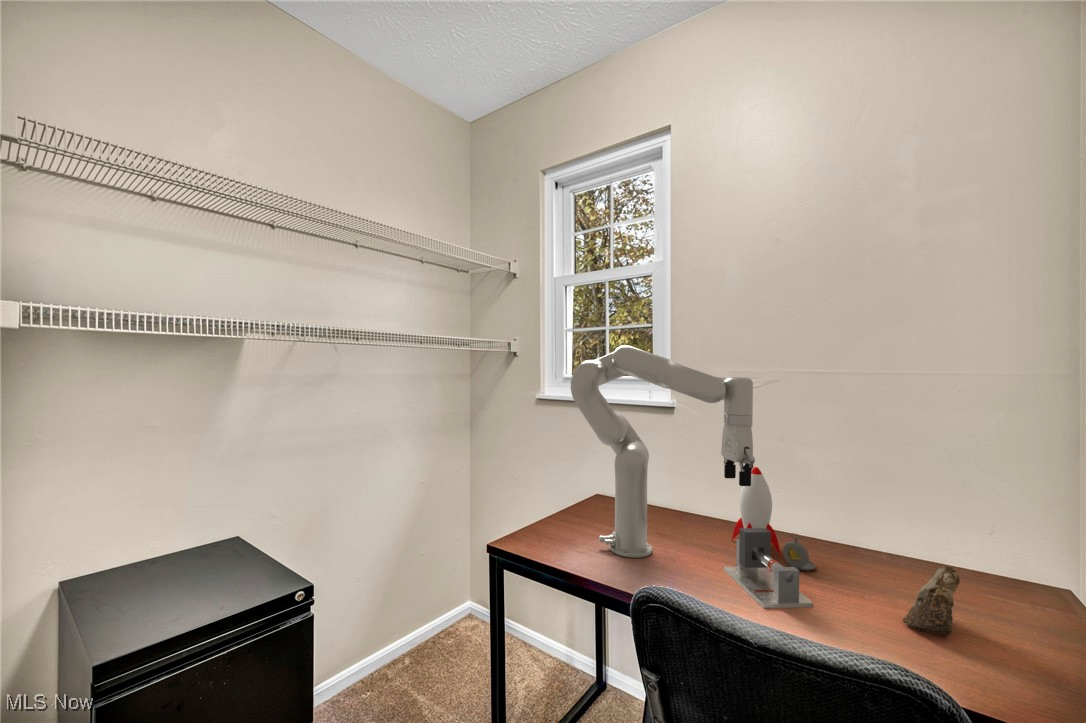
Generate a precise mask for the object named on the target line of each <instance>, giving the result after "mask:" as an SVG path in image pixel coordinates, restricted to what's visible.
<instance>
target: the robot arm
mask: <svg viewBox="0 0 1086 723" xmlns="http://www.w3.org/2000/svg"><path fill="white" fill-rule="evenodd" d="M626 375H628V376H631V377H633V378H636V379H638V380H642V381H644V382H648V383H650V384H652V385H655V386H658V387H661V388H664V389H667V390H671V391H674V392H677V393H680V394H682V395H685V396H687V397H691V398H693V399H696V400H700V401H701V402H704V403H708V404H716V403H719V402H721V401H724V404H723V405H724V406H723V407H724V408H723V410H724V411H723V429H722V435H721V436H722V437H721V452H720V454H721V456H722V457H723V466H724V467H723V468H724V470H723V471H724V475H723V476H724V478H725V479H736V478H737V477H736V474H737V473H736V471H737V467H736V466H737V465H736V464H735V463H738V466H739V469H740V470H739V472H738V485H739V486H740V487H743V486H751V472H752V469H753V468H754V464H755V462H756V460H755V456H754V443H753V442H754V441H753V440H754V439H753V431H752V427H753V418H754V417H753V413H754V412H753V408H754V407H753V404H754V386H753V385H754V382H753V380H752V379H751V378H749V377H733V376H732V377H718V376H713V375H712V374H708V373H705V372H703V371H700V370H696V369H694V368H690V367H687V366H685V365H682V364H680V363H678V362H676V361H674V360H671V359H670V358H667V357H664V356H660V355H657V354H655V353H652V352H649V351H646V350H643V349H641V348H640V349H639V348H637V347H634V346H631V345H627V344H626V345H625V344H623V345H620V346H618V347H616V349H615V350H614V351H613V352H610V353H608V354H605V355H603V356H601V357H599V358H596V359H588V360H584V361H583V362H581V363H579V364H578V365H577V366H576V367H575V370H574V372H573V373H572V376H571V379H570V393H571V396H572V399H573V401H574V403H575V405H576V406H577V408H578V409H579V411H580V413H581V414H582V415H583V417H584V419H585V420H586V421H587V423H588V425H589V426H590V427H591V429H592V430H593V432H594V433H595V435H596V437H597V439H599V441H600V442H601V443H602V444H603V445H605V446H609V447H611V448H610V449H612V451H613V452H614V454H615V458H614V459H615V460H614V480H615V481H614V483H615V484H614V485H615V487H614V488H615V489H614V494H615V495H614V531H612V533H611V534H609V535H599V536H598V542H599V543H604V544H605V545H607V546H608V545H609V550H610V551H611V552H612V553H613V554H616V555H617V556H621V557H626V558H633V559H634V558H644V557H648V556H650V555H651V554H652V553H653V547H652V545H651V544H650V543H648V541H647V540H648V537H647V536H648V467H649V459H650V454H649V449H648V448H647V445H646V444H645V442H643V440H642V439H641V437H640V436H639V435H638V432H636V431H635V429H634V428H633V426H632V425H631V424H630V422H629V421H628V420H627V418H626V417H625V416H623V415H622V414H620V413H617V412H615V411H614V410H613V408H612V406H611V405H610V404H609V403H608V400H607V399H606V398H605V397H604V396H603V394H602V392H601V391H600V388H599V386H602V385H605V384H607V383H611V382H612V381H615V380H618V379H619V378H622V377H624V376H626Z"/></svg>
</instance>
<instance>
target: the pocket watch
mask: <svg viewBox="0 0 1086 723" xmlns="http://www.w3.org/2000/svg"><path fill="white" fill-rule="evenodd" d="M793 535H795V536H793ZM790 536H791V538H793V540H794V541H789V542H786V543H785V544H784V546H783V547H782V553H783V557H784V559H785V560H786V562H787V564H788V565H789V567H795V568H796V569H798V570H799V571H800V570H802V571H813V570H815V569H816V564H815V563H814V562H812V561H810V556H809V555H810V554H809V552H808V550H807V549H806V548H805V546H804V545H802V544H801V543H799V542H798V541H799V540H801V536H800V535H799V534H797V533H791V534H790Z"/></svg>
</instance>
